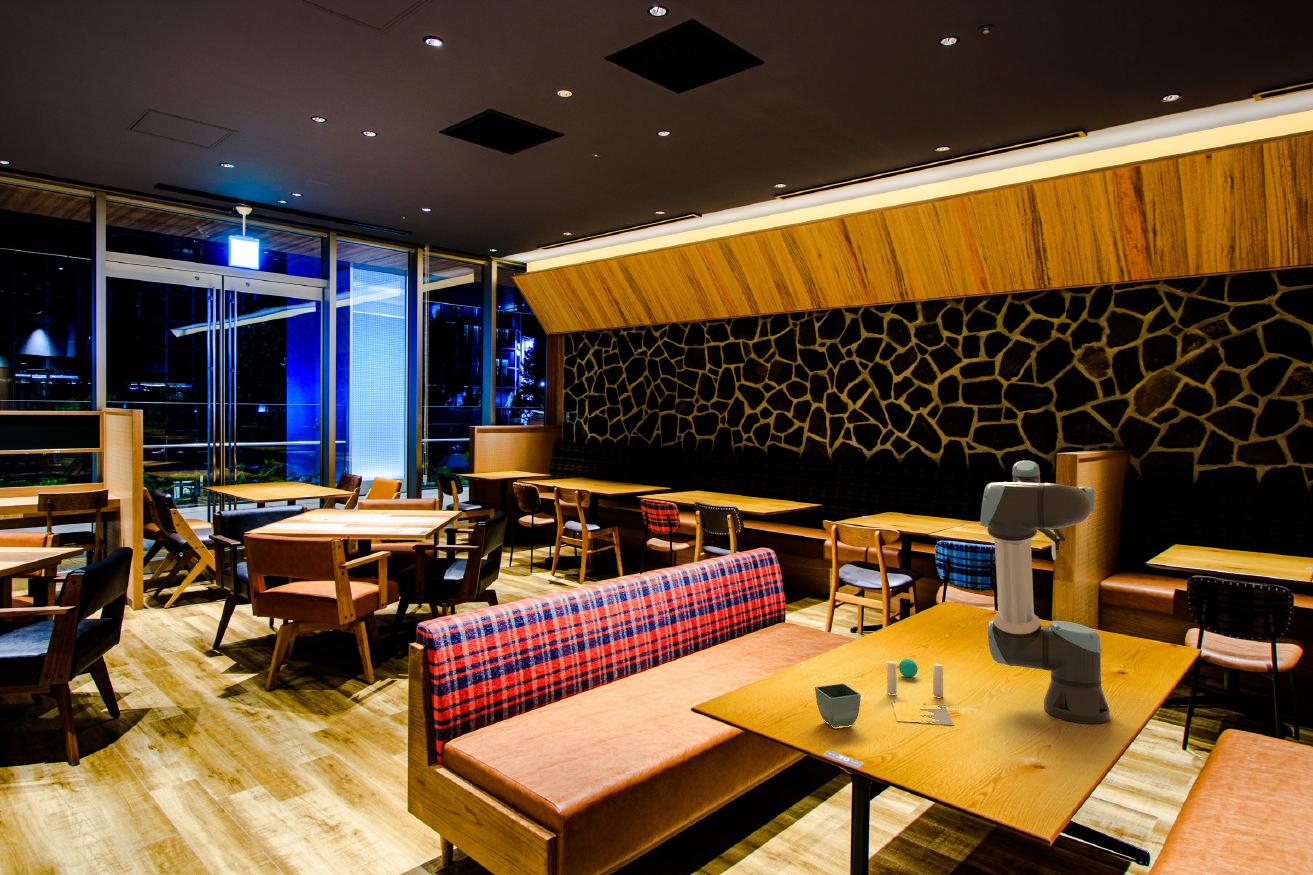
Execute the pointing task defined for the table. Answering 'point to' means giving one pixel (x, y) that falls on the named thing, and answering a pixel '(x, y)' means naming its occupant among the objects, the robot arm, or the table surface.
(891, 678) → the left post
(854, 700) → the flower pot
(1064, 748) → the table surface
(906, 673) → the ball
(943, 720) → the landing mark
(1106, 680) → the table surface
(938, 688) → the right post
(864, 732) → the table surface
